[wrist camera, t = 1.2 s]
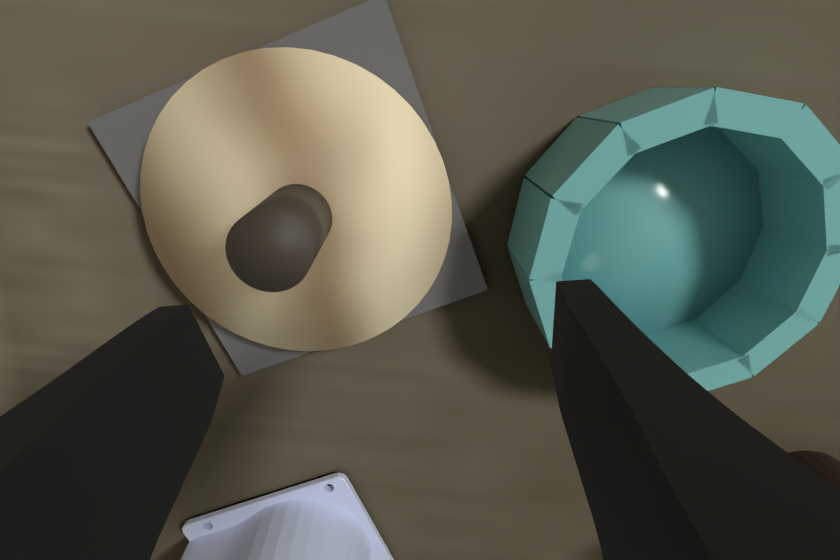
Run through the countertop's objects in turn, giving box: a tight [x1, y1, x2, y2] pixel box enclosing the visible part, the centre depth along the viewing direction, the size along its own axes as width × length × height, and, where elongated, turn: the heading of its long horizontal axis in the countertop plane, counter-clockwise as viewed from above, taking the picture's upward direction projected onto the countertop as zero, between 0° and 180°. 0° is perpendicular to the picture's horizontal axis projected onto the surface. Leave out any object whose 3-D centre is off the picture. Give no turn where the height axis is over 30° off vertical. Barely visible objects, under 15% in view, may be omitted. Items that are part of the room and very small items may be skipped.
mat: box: [87, 0, 488, 376], centre depth 20 cm, size 12×12×1 cm
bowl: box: [507, 87, 840, 391], centre depth 19 cm, size 11×11×4 cm
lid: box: [140, 47, 452, 351], centre depth 17 cm, size 12×12×5 cm
